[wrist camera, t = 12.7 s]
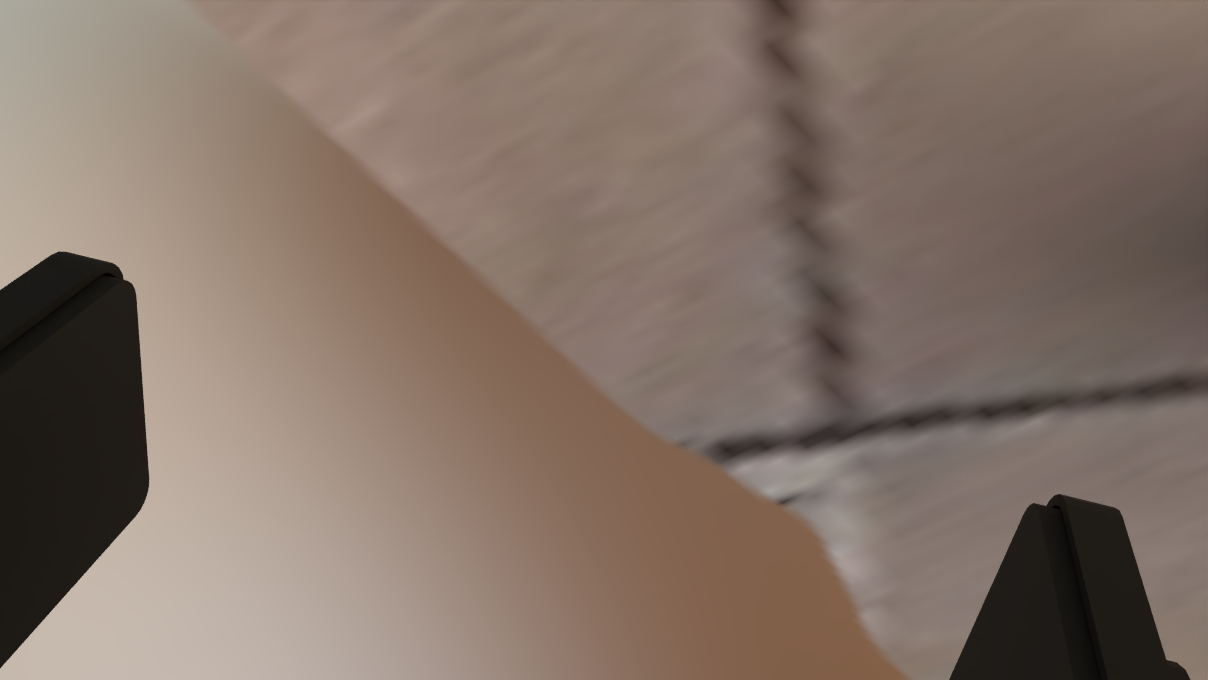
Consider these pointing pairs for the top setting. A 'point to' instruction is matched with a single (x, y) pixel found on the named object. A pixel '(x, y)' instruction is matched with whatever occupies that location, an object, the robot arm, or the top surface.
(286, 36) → the top surface
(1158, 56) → the top surface
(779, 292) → the top surface
